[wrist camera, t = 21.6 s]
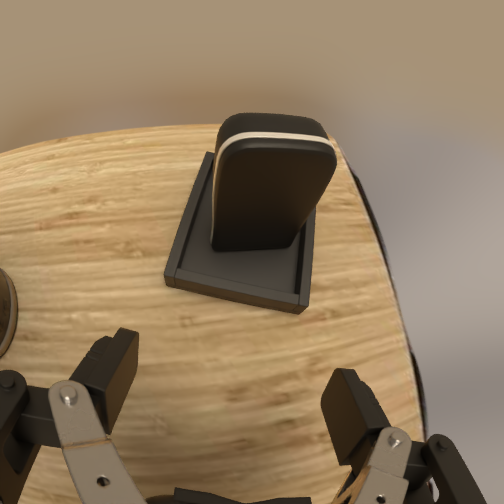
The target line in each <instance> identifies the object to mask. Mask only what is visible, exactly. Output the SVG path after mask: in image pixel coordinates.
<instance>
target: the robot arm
mask: <svg viewBox="0 0 504 504" xmlns="http://www.w3.org/2000/svg"><path fill="white" fill-rule="evenodd" d="M16 319H17V299H16V293H15V289H14V286H13V284H12V281H11V279H10V278H9V276H8V275H7V274H6V273H5V272H4V271H3V270H2V269H1V268H0V357H1V356H2V355H3V353H4V352H5V351H6V349H7V347H8V346H9V344H10V342H11V339H12V336H13V333H14V330H15V325H16ZM138 347H139V333H138V332H136V331H132V330H128V329H125V328H119V330H118V331H117V333H116V334H115V335H114V337H113V338H111V337H108V336H104V337H103V338H101V339H99V340H97V341H96V342H95V343H94V344H93V346H92V347H91V349H90V351H88V353H87V354H86V356H85V357H84V358H83V360H82V361H81V363H80V364H79V365H78V367H77V368H76V370H75V371H74V373H73V374H72V375H71V377H70V378H69V380H63V381H59V382H57V383H55V384H53V385H52V386H51V387H50V388H49V389H48V388H40V387H34V386H28V385H27V383H26V380H25V378H24V377H23V376H22V375H21V374H20V373H18V372H16V371H13V370H3V371H0V504H17V503H18V500H19V498H20V495H21V492H22V490H23V487H24V485H25V482H26V480H27V477H28V475H29V472H30V470H31V468H32V465H33V463H34V461H35V459H36V456H37V454H38V452H39V450H40V448H41V445H44V446H50V447H57V448H61V449H62V452H63V455H64V458H65V461H66V464H67V467H68V469H69V472H70V475H71V477H72V480H73V482H74V485H75V487H76V490H77V492H78V494H79V497H80V499H81V501H82V503H83V504H312V502H311V498H310V497H296V498H275V499H270V500H265V501H259V502H253V503H241V502H238V501H234V500H231V499H227V498H224V497H221V496H218V495H215V494H212V493H207V492H200V491H194V490H188V489H182V488H177V487H175V490H174V495H159V496H154V497H149V498H146V499H144V498H143V496H142V494H141V493H140V491H139V489H138V488H137V486H136V484H135V483H134V481H133V479H132V478H131V476H130V474H129V472H128V470H127V469H126V467H125V465H124V463H123V461H122V459H121V457H120V455H119V453H118V451H117V449H116V447H115V445H114V443H113V442H112V440H111V439H108V438H107V436H106V434H108V435H111V432H112V430H113V427H114V425H115V422H116V420H117V417H118V415H119V413H120V410H121V408H122V405H123V403H124V401H125V398H126V396H127V394H128V391H129V389H130V387H131V384H132V382H133V380H134V378H135V375H136V371H137V366H138ZM321 409H322V412H323V415H324V419H325V422H326V425H327V428H328V431H329V434H330V437H331V440H332V443H333V446H334V449H335V453H336V456H337V459H338V462H339V465H340V466H342V465H351V467H352V469H351V470H350V471H349V473H348V474H347V476H346V478H345V480H344V482H343V483H342V485H341V487H340V489H339V490H338V492H337V494H336V496H335V497H334V499H333V501H332V502H331V504H487V503H486V501H485V499H484V497H483V495H482V493H481V491H480V489H479V488H478V486H477V484H476V482H475V480H474V479H473V477H472V475H471V473H470V471H469V470H468V468H467V466H466V464H465V462H464V461H463V459H462V457H461V455H460V454H459V452H458V450H457V449H456V447H455V445H454V443H453V442H452V441H451V440H450V439H449V438H448V437H446V436H444V435H440V434H434V435H432V436H431V437H430V438H429V439H428V440H427V442H426V443H424V442H416V441H411V438H410V437H409V435H408V434H407V433H406V432H405V431H403V430H402V429H400V428H397V427H392V426H391V425H390V423H389V421H388V419H387V417H386V415H385V413H384V412H383V410H382V408H381V406H380V405H379V402H378V401H377V399H376V398H375V395H374V393H373V392H372V390H371V388H370V387H369V386H368V385H366V384H365V383H364V382H363V381H360V379H359V377H358V375H357V373H356V371H355V370H354V369H344V368H336V369H335V370H334V372H333V374H332V376H331V378H330V380H329V382H328V384H327V386H326V388H325V390H324V392H323V394H322V397H321ZM432 477H433V479H434V481H435V483H436V486H437V488H438V490H439V498H438V500H437V502H434V500H433V497H432V495H431V493H430V490H429V488H428V486H427V482H428V481H429V480H430V479H431V478H432Z"/></svg>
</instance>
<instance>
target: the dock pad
mask: <svg viewBox="0 0 504 504" xmlns="http://www.w3.org/2000/svg"><path fill="white" fill-rule="evenodd" d="M214 154H215V153H212V152H206V155H205V157H204V160H203V162H202V165H201V167H200V170H199V173H198V175H197V178H196V180H195V183H194V186H193V189H192V191H191V194H190V197H189V199H188V202H187V205H186V208H185V211H184V214H183V216H182V219H181V222H180V225H179V228H178V231H177V234H176V237H175V240H174V243H173V246H172V249H171V252H170V256H169V259H168V262H167V265H166V268H165V272H164V278H165V282H166V285H167V286H170V287H174V288H178V289H182V290H187V291H191V292H195V293H199V294H204V295H208V296H212V297H217V298H221V299H226V300H230V301H235V302H240V303H244V304H249V305H254V306H259V307H264V308H269V309H274V310H279V311H284V312H289V313H294V314H300V313H301V312H303V311H304V310H305V309H306V308H307V307H308V306H309V297H310V286H311V274H312V261H313V248H314V232H315V214H316V206H315V208H314V209H313V211H312V212H311V214H310V215H309V217H308V218H307V220H306V221H305V223H304V224H303V226H302V227H301V229H300V230H299V232H298V234H297V236H296V237H295V239H294V241H293V243H292V245H291V246H290V247H284V248H268V249H249V250H224V251H215V250H213V248H212V244H211V243H210V236H211V225H212V195H213V164H214Z"/></svg>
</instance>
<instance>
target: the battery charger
mask: <svg viewBox="0 0 504 504" xmlns="http://www.w3.org/2000/svg"><path fill="white" fill-rule="evenodd" d="M336 166H337V158H336V151H335V148H334V146H333V144H332V143H331V142H330V141H329V139H328V136H327V134H326V132H325V131H324V129H323V128H322V126H321V124H320V123H318V122H317V121H315V120H313V119H311V118H306V117H301V116H292V115H283V114H269V113H239V114H236V115H233V116H231V117H229V118H228V119H226V120H225V122H224V123H223V124H222V126H221V127H220V129H219V132H218V135H217V141H216V147H215V154H214V164H213V195H212V225H211V236H210V243H211V244H212V248H213V250H215V251H224V250H249V249H268V248H284V247H290V246H291V245H292V243H293V241H294V239H295V237H296V236H297V234H298V232H299V230H300V229H301V227H302V226H303V224H304V223H305V221H306V220H307V218H308V217H309V215H310V214H311V212H312V211H313V209H314V208H315V206H316V205H317V203H318V201H319V200H320V198H321V196H322V195H323V193H324V191H325V189H326V187H327V186H328V184H329V182H330V180H331V178H332V176H333V174H334V172H335V169H336Z"/></svg>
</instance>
